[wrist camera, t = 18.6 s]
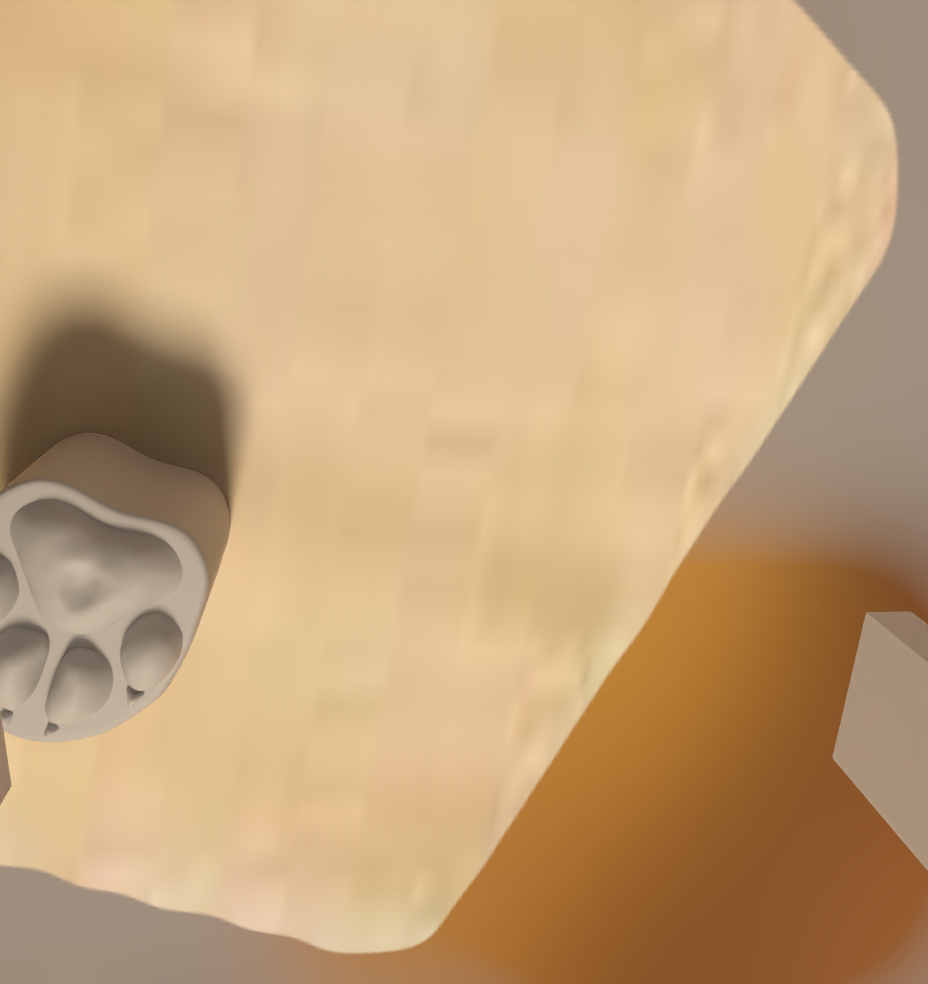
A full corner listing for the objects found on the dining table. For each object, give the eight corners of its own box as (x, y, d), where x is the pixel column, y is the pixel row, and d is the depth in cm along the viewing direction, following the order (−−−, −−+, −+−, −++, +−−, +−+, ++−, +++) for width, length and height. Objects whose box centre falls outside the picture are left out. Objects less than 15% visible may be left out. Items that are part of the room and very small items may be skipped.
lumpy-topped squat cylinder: (252, 493, 44) (230, 561, 36) (164, 693, 48) (125, 796, 40) (51, 412, 42) (-22, 465, 34) (-28, 629, 45) (-112, 725, 37)
